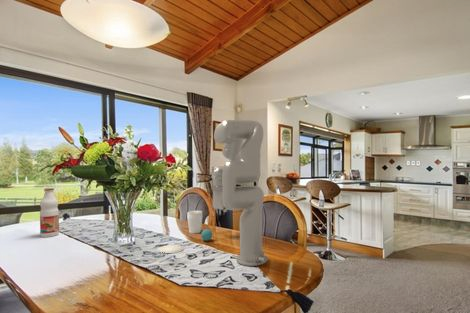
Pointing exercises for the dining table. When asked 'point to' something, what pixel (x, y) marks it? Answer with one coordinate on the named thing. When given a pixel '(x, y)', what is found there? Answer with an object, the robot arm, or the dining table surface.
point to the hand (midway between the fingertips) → (220, 221)
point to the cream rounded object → (171, 249)
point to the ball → (206, 234)
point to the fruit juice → (49, 214)
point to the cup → (194, 221)
